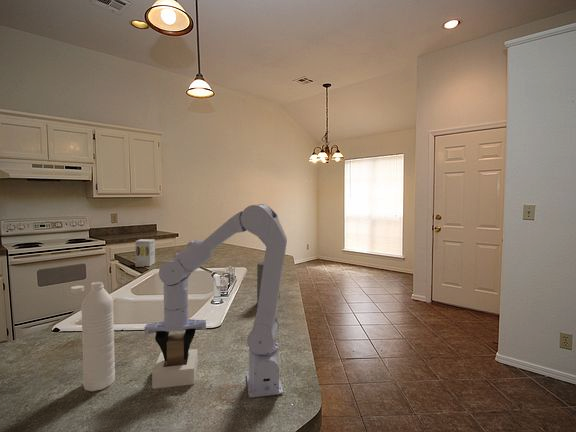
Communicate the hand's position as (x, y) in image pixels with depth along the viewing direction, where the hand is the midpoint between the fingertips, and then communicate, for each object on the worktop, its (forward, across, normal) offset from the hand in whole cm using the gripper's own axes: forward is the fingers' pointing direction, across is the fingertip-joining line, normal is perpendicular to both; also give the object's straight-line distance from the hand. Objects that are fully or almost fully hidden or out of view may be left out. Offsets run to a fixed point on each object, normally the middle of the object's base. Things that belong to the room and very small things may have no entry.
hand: (176, 358), depth 76 cm
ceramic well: (+4, 0, 0) cm, 4 cm away
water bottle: (+5, +18, +1) cm, 19 cm away
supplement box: (+5, +39, -130) cm, 136 cm away
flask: (+5, -32, -51) cm, 60 cm away
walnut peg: (+3, 0, 0) cm, 3 cm away
